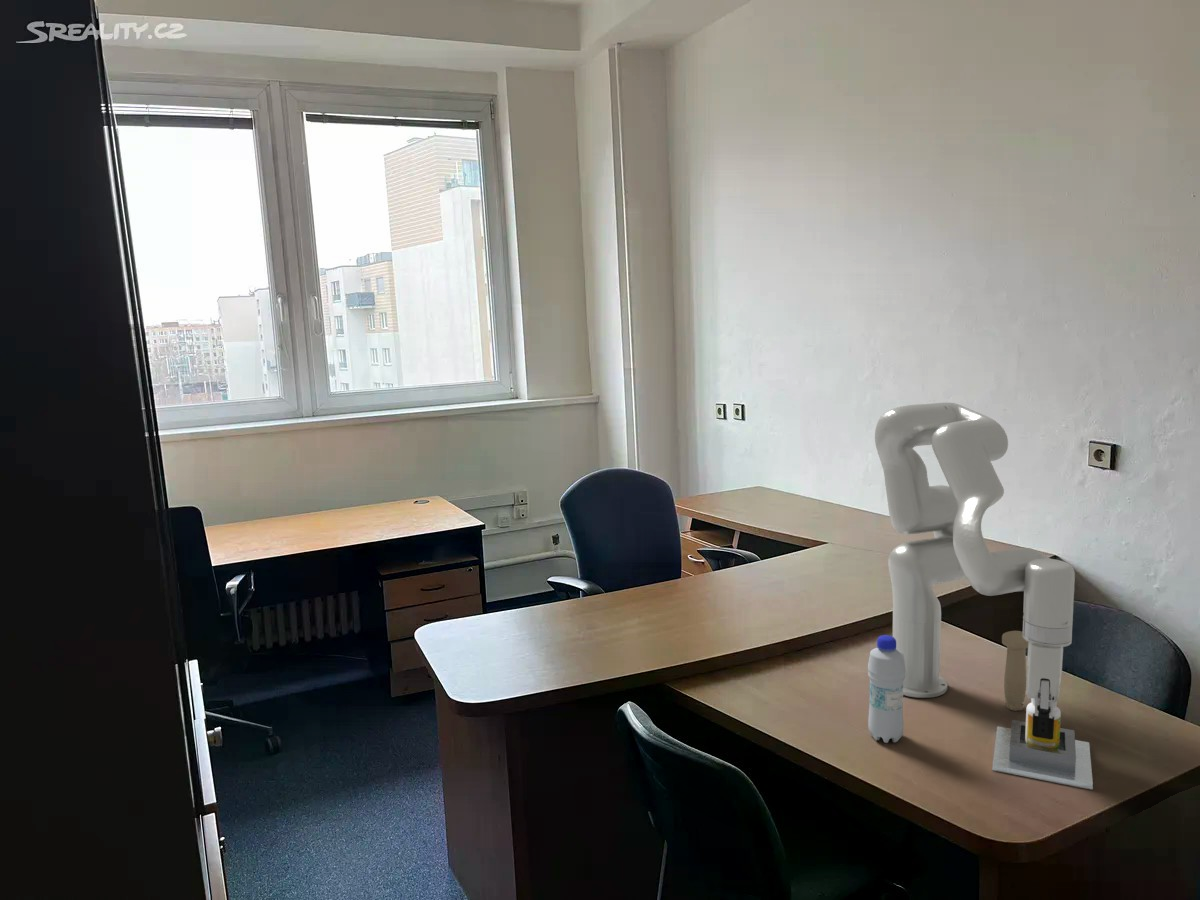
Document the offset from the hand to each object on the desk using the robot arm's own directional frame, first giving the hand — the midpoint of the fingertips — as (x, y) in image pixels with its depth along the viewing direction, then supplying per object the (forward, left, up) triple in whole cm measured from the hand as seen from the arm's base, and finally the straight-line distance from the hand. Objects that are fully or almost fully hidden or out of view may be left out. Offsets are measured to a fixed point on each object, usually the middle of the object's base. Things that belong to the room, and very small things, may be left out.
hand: (1042, 728), depth 147 cm
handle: (-5, +19, -6) cm, 21 cm away
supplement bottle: (0, 0, -4) cm, 4 cm away
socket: (0, 0, -6) cm, 6 cm away
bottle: (-26, -3, -6) cm, 27 cm away
